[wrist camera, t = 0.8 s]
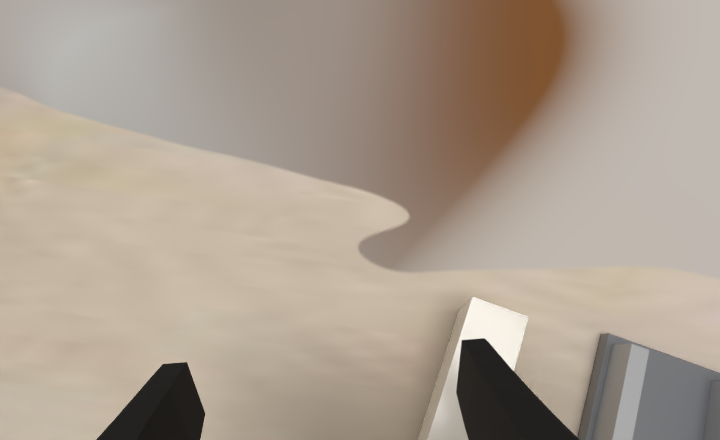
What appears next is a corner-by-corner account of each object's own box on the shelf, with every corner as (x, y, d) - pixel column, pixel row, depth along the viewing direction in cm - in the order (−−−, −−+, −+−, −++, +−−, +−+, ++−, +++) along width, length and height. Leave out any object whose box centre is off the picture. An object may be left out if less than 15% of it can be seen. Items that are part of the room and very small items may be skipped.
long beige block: (437, 545, 21) (445, 617, 15) (391, 521, 21) (382, 582, 16) (501, 325, 24) (528, 317, 18) (459, 309, 24) (472, 296, 19)
